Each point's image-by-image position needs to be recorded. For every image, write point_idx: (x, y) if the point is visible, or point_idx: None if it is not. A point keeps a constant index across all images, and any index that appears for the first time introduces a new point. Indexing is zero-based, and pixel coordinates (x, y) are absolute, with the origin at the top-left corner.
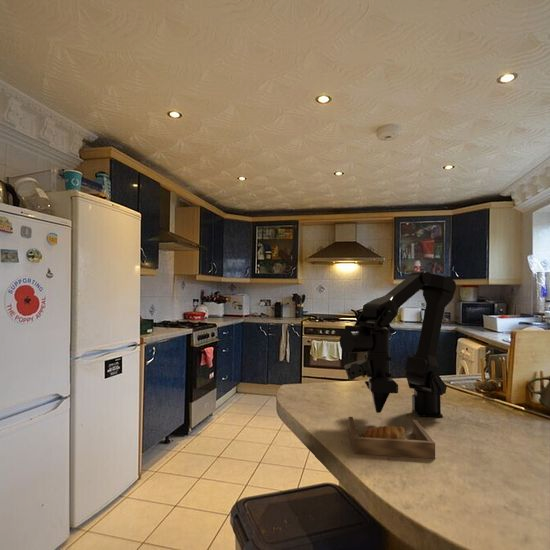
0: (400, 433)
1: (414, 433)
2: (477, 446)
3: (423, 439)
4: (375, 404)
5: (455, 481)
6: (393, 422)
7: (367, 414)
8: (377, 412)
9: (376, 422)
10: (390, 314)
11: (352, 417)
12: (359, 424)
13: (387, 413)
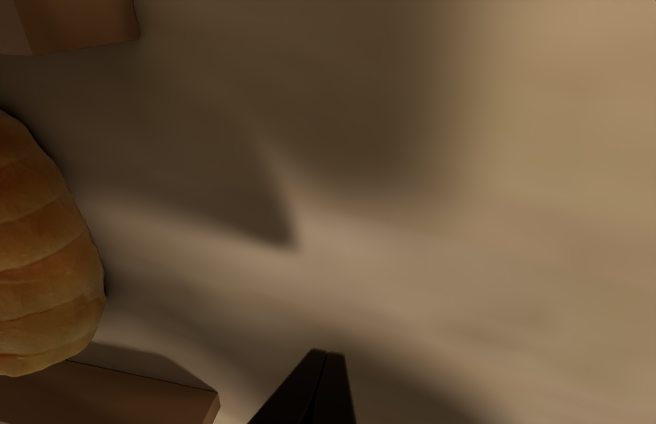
0: None
1: (170, 395)
2: None
3: (1, 391)
4: (254, 418)
5: None
6: (378, 378)
7: (605, 275)
8: (311, 354)
9: (368, 282)
10: None
11: (13, 49)
12: (297, 133)
13: (596, 417)
